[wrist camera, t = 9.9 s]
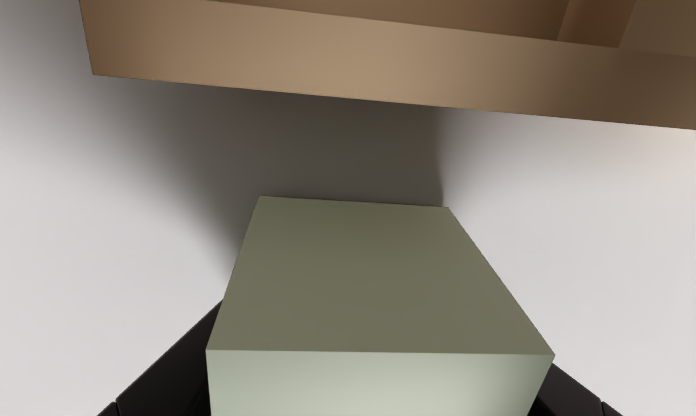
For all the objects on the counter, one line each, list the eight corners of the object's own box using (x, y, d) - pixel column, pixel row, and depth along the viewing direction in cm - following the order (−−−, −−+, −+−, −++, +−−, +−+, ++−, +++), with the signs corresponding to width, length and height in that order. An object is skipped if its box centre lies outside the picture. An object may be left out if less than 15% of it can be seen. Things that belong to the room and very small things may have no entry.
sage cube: (448, 207, 9) (555, 355, 5) (415, 344, 11) (472, 530, 7) (259, 195, 8) (205, 350, 4) (259, 341, 10) (223, 541, 6)
